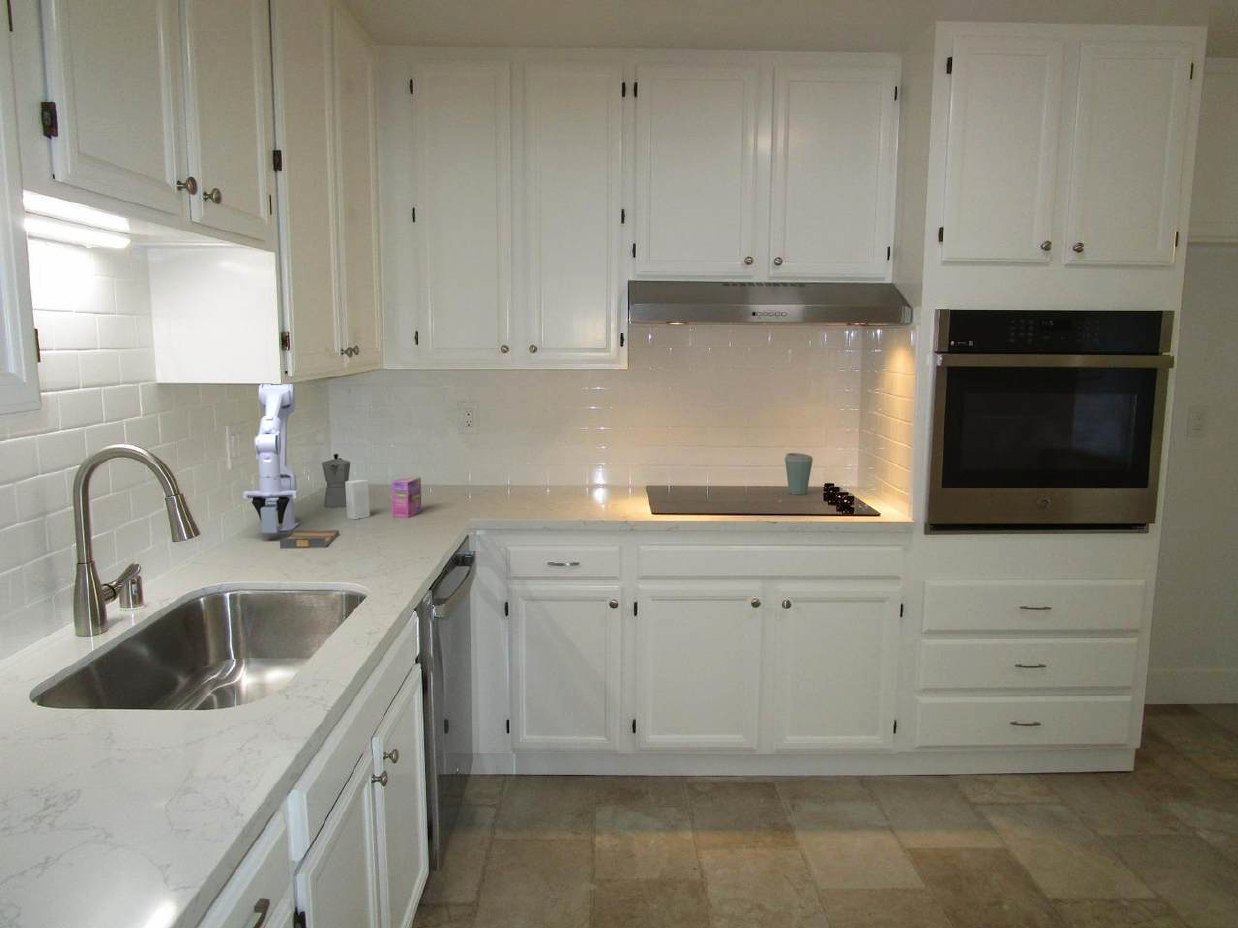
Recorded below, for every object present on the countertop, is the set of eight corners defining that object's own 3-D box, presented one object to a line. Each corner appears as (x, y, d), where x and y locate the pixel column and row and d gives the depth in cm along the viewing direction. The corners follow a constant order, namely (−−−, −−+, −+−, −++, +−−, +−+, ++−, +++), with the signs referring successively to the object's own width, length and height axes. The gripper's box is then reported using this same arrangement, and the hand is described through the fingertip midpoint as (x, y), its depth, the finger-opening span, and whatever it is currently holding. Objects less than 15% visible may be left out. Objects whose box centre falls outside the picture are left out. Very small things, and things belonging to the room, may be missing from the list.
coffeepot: (348, 508, 290) (346, 456, 288) (319, 509, 289) (317, 456, 287) (356, 500, 306) (354, 450, 303) (328, 501, 304) (326, 450, 302)
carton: (261, 532, 241) (260, 508, 240) (268, 528, 247) (266, 504, 246) (277, 532, 241) (275, 508, 240) (282, 527, 247) (281, 504, 246)
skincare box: (362, 515, 280) (361, 479, 278) (370, 517, 277) (368, 480, 275) (346, 518, 275) (344, 481, 273) (353, 519, 272) (352, 482, 271)
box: (408, 518, 276) (407, 481, 274) (392, 517, 277) (391, 481, 275) (422, 511, 286) (421, 476, 284) (406, 511, 287) (405, 476, 285)
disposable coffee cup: (816, 492, 326) (817, 453, 324) (806, 497, 317) (807, 456, 315) (789, 490, 332) (790, 451, 330) (779, 494, 323) (780, 454, 321)
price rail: (281, 547, 235) (280, 538, 235) (326, 546, 236) (325, 537, 236) (279, 548, 234) (279, 539, 234) (325, 547, 235) (324, 538, 235)
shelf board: (296, 534, 251) (296, 530, 251) (338, 533, 252) (338, 529, 252) (281, 547, 235) (281, 543, 235) (326, 546, 236) (326, 542, 236)
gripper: (238, 478, 237) (241, 526, 239) (292, 478, 239) (294, 525, 241) (246, 474, 244) (249, 521, 246) (299, 474, 246) (301, 520, 248)
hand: (272, 523), depth 244 cm, fingers closed on carton, 4 cm apart
